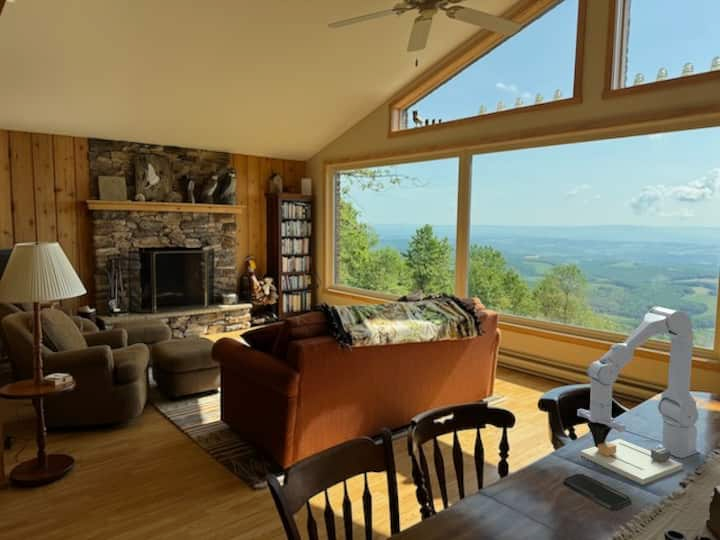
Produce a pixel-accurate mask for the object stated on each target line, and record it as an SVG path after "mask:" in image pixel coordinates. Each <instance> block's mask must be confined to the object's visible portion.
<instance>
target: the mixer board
mask: <svg viewBox="0 0 720 540" xmlns="http://www.w3.org/2000/svg"><path fill="white" fill-rule="evenodd" d="M609 442H610V443H612V444H615V445H616V453H615V454H612V455H609V456H606V455H603V454H601V453H599V452H598V448H597V447H595V446H592V447H589V448H585V449H583V450H580V457H582V456H583V458H584V457H585V459H587V460H588V461H589V460H590V461H591V460H592V461H591V462H593V461H594V463H595V462H596V464H597V465H600V466H601V465H602V467H603V468H606V469H608V470H610V471H612V472H615V473H616V474H618V475H620V476H624V477H625V478H628V479H629V480H632V481H634V482H635V483H639V484H640V485H645V484H648V483H650V482H652V481H656V480H658V479H660V478H664V477H666V476H669V475H671V474H673V473H675V472H676V473H677V472H678V471H681V470H683V463H680V461H679V462H678V461H676V460H673V459H671V458H670V459H669V460H666V461H663V462H660V461H657V460H655V459H652V458H651V450H649V449H646V448H644V447H641V446H638V445H636V444H633V443H631V442H629V441H626V440H624V439H621V438H617V439H615V440H611V441H609Z"/></svg>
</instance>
